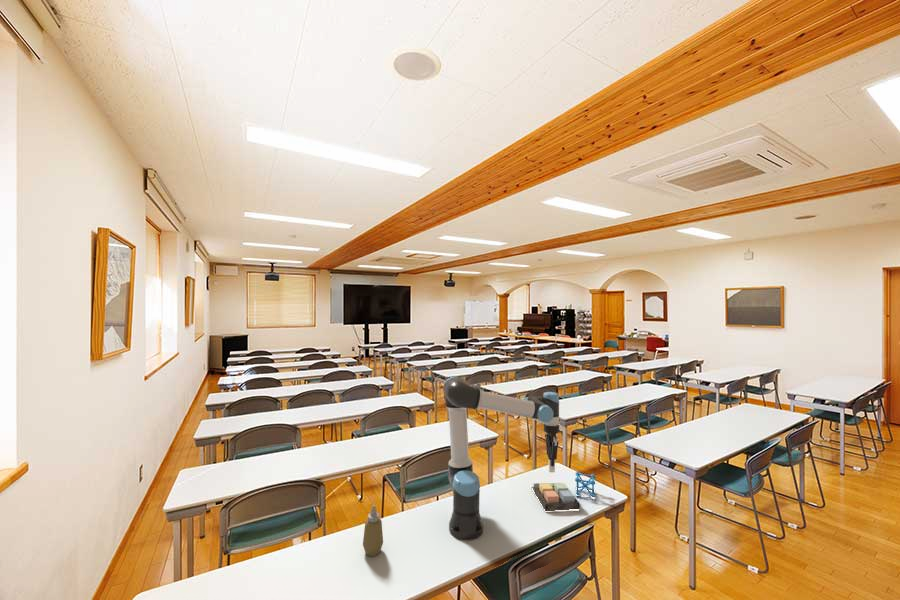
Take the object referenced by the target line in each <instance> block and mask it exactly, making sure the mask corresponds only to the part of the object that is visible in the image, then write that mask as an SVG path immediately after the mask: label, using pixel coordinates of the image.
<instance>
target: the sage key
mask: <svg viewBox="0 0 900 600" xmlns="http://www.w3.org/2000/svg"><path fill="white" fill-rule="evenodd" d="M553 483H554V490H555V491H556V493H557V494H560V491H568V490H569V487H568V486H567V484H566V483H564V482H553Z"/></svg>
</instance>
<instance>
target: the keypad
mask: <svg viewBox="0 0 900 600" xmlns="http://www.w3.org/2000/svg"><path fill="white" fill-rule="evenodd" d="M549 483H550V485H551V486H552V488H553V491H555V490H554V483H555V482H549ZM539 484H547V482H541V483H537V482H536V483H533V486H531V489H532V488H533V490H534V492H535V494H536V496H537V497H538V499H539V501H540V503H541V504H542V506H543V508H544V509H545V511H555V510H569V509H580V510H581V507H580V505H581V504H580V501H578V499H577V497H575V502H563V501H562V499H561V498H560V494H558V496H559V503H548V502H547V501H546V499H545V498H544V495H542V493H541V492H540V490H539ZM569 490H570V489H568V491H569ZM555 492H556V491H555ZM535 494H534V495H535ZM536 496H535V497H536ZM538 499H537V500H538ZM539 501H538V502H539ZM540 503H539V504H540ZM541 504H540V505H541ZM542 506H541V507H542ZM543 508H542V509H543ZM544 509H543V510H544ZM545 511H544V512H545Z"/></svg>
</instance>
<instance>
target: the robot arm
mask: <svg viewBox="0 0 900 600" xmlns="http://www.w3.org/2000/svg"><path fill="white" fill-rule="evenodd" d="M442 389H443V390H442V392H443V394H444V403H445V404H444V405H445V408H446V409H448V423H449V424H448V425H449V438H450V439H449V441H450V457H451V458H450V459H449V460H448V471H447V478H448V482H449V484H450V489H451V491H452V495H453V496H452V497H453V499H452V500H453V501H452V503H453V504H452V505H453V506H452V507H453V508H452V509H453V510H452V513H451V516H450V520H449V523H448V530H449V533H450V535H451V536H453V537H455V538H456V539H459V540H465V541H471V540H476V539H478V538H479V537H480V536H482V535H483V533H484V522H483V519H482V516H481V513H480V491H481V490H480V488H481V484H480V483H481V482H480V478H479V475H478V474H477V473H475V472H474V469H473V468H474V467H473V466H474V465H473V460H472V459H471V458H470V453H469V439H468V438H469V435H468V417H467V409H469V410H475V411H476V410H478V409H483V410H487V411H492V412H493V411H494V412H498V413H503V414H509V415H513V416H518V417H524V418H529V419H535V420H538V421H540V422H541V423H543V432H544V433H545V434H544V438H545V448H546V455H547V458H548V467H547V469H548V473H555V471H556V465H555V464H556V460H557V459H558V448H559V447H558V446H559V441H557V439H558V438H557V434H559V433H560V419H561V416H560V396H559V393H557V392H554V391H545V392H543V396H525V397H521V398H519V397H513V396H507V395H503V394H498V393H493V392H487V391H484V390H483V391H482V389H481V388H480V387H475V386H473V385H470V384H468V383H467V382H466V380H465V379H464V378H463V377H460V376H451V377H449V378H447V379H446V380H445V382H444V383H443V387H442Z"/></svg>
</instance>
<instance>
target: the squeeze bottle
mask: <svg viewBox="0 0 900 600" xmlns="http://www.w3.org/2000/svg"><path fill="white" fill-rule="evenodd" d="M363 531H364V532H363V539H362V540H363V541H362V546H363V549H364V553H365V555H367V556H369V557H374V556H377V555H378V554H380V553H381V550H382V548H383V545H384V535H383V523H382V519H381V518H380V513H379V512H377V508H376V505H375V504H373V505H372V507H371V511H370V513H368V514H367V519H366V520H365V524H364V530H363Z"/></svg>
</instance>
